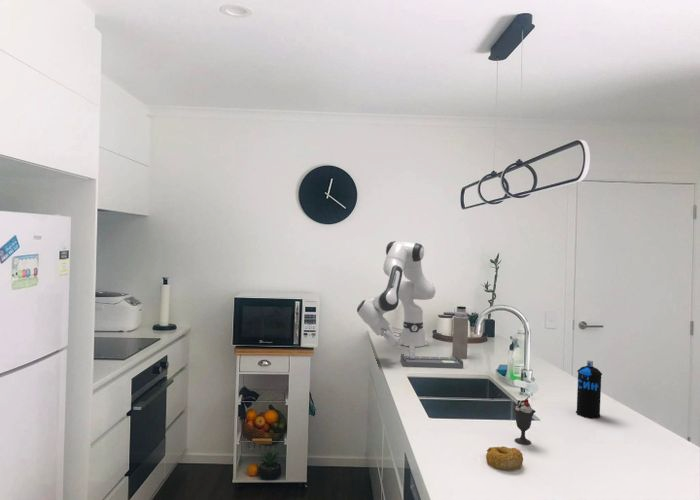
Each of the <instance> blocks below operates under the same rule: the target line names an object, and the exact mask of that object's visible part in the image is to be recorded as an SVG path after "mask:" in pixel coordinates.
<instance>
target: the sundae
mask: <svg viewBox="0 0 700 500" xmlns="http://www.w3.org/2000/svg"><path fill="white" fill-rule="evenodd" d="M530 397H531V396H530V395H528V396H527V397H526V399H523V400H520V399H518V400H517V402H516V403H517V404H516V406H513V407H512V411H514V413H515V415H514V416H515V421H516V423H515V424H516V426H517V428H518V429H519V430H520V432H521V433H520V434H521V435H520V437H516V438H514V441H515V443H517V444H519V445H523V446H530V445H531V444H532V440H530V439H528V438H526V431H528V430H529V429H530V428H531V427H532V426H531V425H532V422H533V421H532V420H533V416H534V414H536V410H535V409H533V408H532V406H531V404H530V403H529V402H530V401H529V398H530Z"/></svg>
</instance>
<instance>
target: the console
mask: <svg viewBox="0 0 700 500" xmlns="http://www.w3.org/2000/svg"><path fill="white" fill-rule="evenodd" d="M400 362H401V365H402V367H403V368H404V367H405V368H430V369H431V368H434V369H435V368H437V369H462V368H463V369H464V361H463V359H460V358H459V357H458V356H455V357H452V356H423V355H422V356H421V355H419V356H416V355H415V359H410V358H409V355H405V354H404V353H400Z"/></svg>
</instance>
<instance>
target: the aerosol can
mask: <svg viewBox="0 0 700 500" xmlns="http://www.w3.org/2000/svg"><path fill="white" fill-rule="evenodd" d="M602 375H603V373H602V371H600V370H599V369H598V368H597V367H595V366H594V361H593V360H591V359H588V360H587V361H586V366H585V365H584V366H582V367H580V368H579V369H577V391H576V392H577V396H576V411H575V414H576V413H577V414H576V415H578V416H579V415H581V416H580V417H582V416H584V417H583V418H586V417H588V418H587V419H593V418H596V419H600V418H601V395H602V394H601V391H602Z"/></svg>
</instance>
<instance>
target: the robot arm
mask: <svg viewBox="0 0 700 500" xmlns="http://www.w3.org/2000/svg"><path fill="white" fill-rule="evenodd" d="M385 248H386V249H385V254H386V257H385V259H384V263H383V268H382V270H383V273H384V274H385V275H386V276H387V277H388V279H387V284H386V288H385V289H384V291H383V292H382V293H381V294H379V295H376V296H375V297H373V298H369V299H363V300H362V301H361V302H360V304H358V307H357V309H356V312H357V315H358V316H359V317H360V318H361V319H362V321H363V322H364V323H365V324H366V325H368V327H369V328H370V329H371V331H372V332H374V333H375V335H376V336H378V337H379V336H380V337H384V339H385V340H386V341H387V342H388V343H389V344H390V345H391V347H394V346H395V347H397V349H401V347H402V346H405V347H409V346H410V340H415V348H417V347H418V348H419V347H426V346H429V344H428V343H427V342H426V331H425V330H424V322H423V315H424V314H423V311H424V310H423V309H422V307H421V306H419V304H418V305H417V303H416V302H415V301H414V300H417V301H418V300H419V301H421V300H422V301H427V300H432V299H434V297H435V295H436V287H435V285H434V284H433V283H431V282H430V281H429V280H428V279H427V278H426V277H425V275H424V273H423V268H422V260H423V258H424V255H425V248H424V246H423V245H422V244H420V243H418V242H412V241H411V242H410V241H390V242H389V243H388V244H387V246H386V247H385ZM403 276H404V277H405V278H406V279H407V280H402V278H403ZM399 302H401V304H402V306H403V312H404V313H403V314H404V317H403V318H404V320H403V323H402V326H403V328H402V329H401V330H400V332H399V334H398V335H399V338H397V337H396V336H395V333H394V331H393V330H392V329H391V327H390V325H391V323H390V322H389V321H388V320H387V318H385V317H384V314H387V313H388V312H390V311H394V310H395V309H397V307H399Z"/></svg>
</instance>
